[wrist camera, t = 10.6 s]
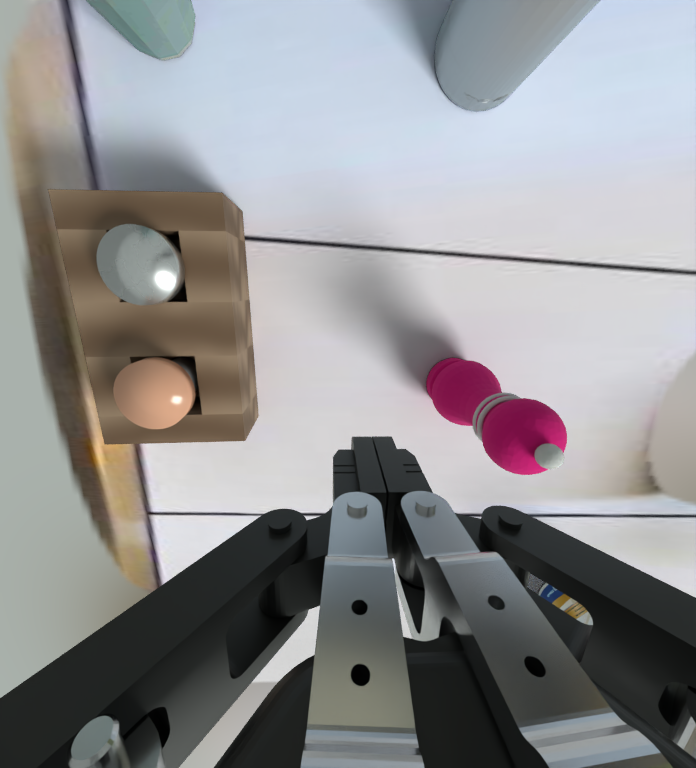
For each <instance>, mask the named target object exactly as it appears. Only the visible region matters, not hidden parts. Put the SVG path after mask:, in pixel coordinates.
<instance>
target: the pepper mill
mask: <svg viewBox="0 0 696 768" xmlns="http://www.w3.org/2000/svg"><path fill="white" fill-rule="evenodd" d="M426 387H427V391H428V394H429V396H430V397H431V399H432V400H433V403H434V406H435V408H436V409H437V411H438V412H439V413H440V414H441V415H442V416H443V417H444V418H446V419H447V420H449V421H450V422H453V423H455V424H459V425H466V426H473V429H474V432H475V434H476V436H477V437H478V438H479V439H480V440H481V441H482V442H483V446H484V448H485V451H486V453H487V454H488V455H489V457H490V458H491V459H492V460H493V461H494V462H495V463H496V464H497V465H499V466H500V467H501V468H503V469H505V470H507V471H509V472H512V473H515V474H521V475H532V474H537V473H541V472H543V471H546V470H548V469H556V468H558V467H560V466H561V465H562V464H563V462H564V454H563V452H564V450H565V447H566V443H567V433H566V428H565V426H564V423H563V421H562V420H561V418H560V417H559V415H558V414H557V413H556V412H555V411H554V410H552V409H551V408H550V407H548V406H547V405H545V404H543V403H541V402H539V401H536V400H532V399H526V398H523V399H521V398H519V397H518V396H516V395H514V394H511V393H502V392H501V388H500V384H499V382H498V380H497V378H496V377H495V375H494V374H493V373H492V372H491V371H490V370H489V369H488V368H486V367H485V366H483V365H482V364H480V363H477V362H474V361H464V360H462V359H459V358H448V359H445V360H442V361H440V362H439V363H437V364H436V365H435V366H434V367H433V368H432V369H431V371H430V372H429V375H428V377H427V382H426Z"/></svg>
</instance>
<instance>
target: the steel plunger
mask: <svg viewBox="0 0 696 768" xmlns="http://www.w3.org/2000/svg"><path fill="white" fill-rule="evenodd" d="M97 267H98V270H99V273H100V276H101V278H102V280H103V281H104V283H105V284H106V286H107V287H108V288H109V289H110V290H111V291H112V292H113V293H114V294H115V295H116V296H118V297H119V298H121V299H122V300H124V301H126V302H129V303H132V304H136V305H155V304H162V303H165V302H167V301H169V300H171V299H172V298H174V297H175V296H176V295H177V294H178V292H184V291H186V285H185V266H184V261H183V258H182V254H181V250H180V249H178V248H177V247H176V246H175V244H174V243H173V242H172V241H171V240H170V239H169V238H168V237H166V236H165V235H163V234H162V233H160V232H158V231H156V230H153V229H150V228H147V227H144V226H141V225H137V224H123V225H119V226H116V227H114V228H112V229H111V230H109V231H108V232H107V233H106V234H105V235H104V236H103V238H102V239H101V241H100V243H99V245H98V249H97Z"/></svg>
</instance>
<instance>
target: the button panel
mask: <svg viewBox="0 0 696 768" xmlns="http://www.w3.org/2000/svg"><path fill="white" fill-rule="evenodd" d="M48 192H49V196H50V201H51V205H52V210H53V214H54V219H55V223H56V228H57V232H58V237H59V241H60V246H61V250H62V255H63V259H64V264H65V268H66V273H67V277H68V282H69V286H70V291H71V295H72V300H73V304H74V309H75V313H76V318H77V322H78V327H79V331H80V336H81V340H82V345H83V349H84V354H85V358H86V363H87V367H88V372H89V376H90V381H91V385H92V390H93V394H94V399H95V403H96V408H97V412H98V417H99V421H100V426H101V430H102V435H103V439H104V443H105V444H141V443H181V442H220V441H245V440H246V438H247V436H248V435H249V433H250V431H251V429H252V427H253V425H254V423H255V422H256V420H257V418H258V403H257V391H256V378H255V365H254V352H253V340H252V327H251V314H250V302H249V289H248V276H247V263H246V251H245V238H244V225H243V212H242V210H240V209H239V208H238V207H237V206H236V205H235V204H234V203H233V202H232V201H231V200H230V199H229V198H227V197H226V196H225V195H224V194H223V193H216V192H163V191H109V190H56V189H48ZM123 224H137V225H141V226H144V227H147V228H150V229H153V230H156V231H158V232H160V233H162V234H163V235H165V236H166V237H168V238H169V239H170V240H171V241H172V242H173V243H174V244H175V246H176V247H177V248H178V249H180V250H181V254H182V258H183V261H184V266H185V285H186V291H184V292H178V294H177V295H176V296H175V297H174V298H172V299H171V300H169V301H167V302H165V303H162V304H155V305H136V304H132V303H129V302H126V301H124V300H122V299H121V298H119V297H118V296H116V295H115V294H114V293H113V292H112V291H111V290H110V289H109V288H108V287H107V286H106V284H105V283H104V281H103V280H102V278H101V276H100V273H99V270H98V267H97V249H98V245H99V243H100V241H101V239H102V238H103V236H104V235H105V234H106V233H107V232H108V231H109V230H111V229H112V228H114V227H116V226H119V225H123ZM178 356H186V357H190V358H192V359H194V360H195V363H196V371H197V378H198V386H199V391H198V392H197V393H196V394H195V401H194V404H193V407H192V408H191V410H190V411H189V413H188V414H186V415H185V416H184V417H183V418H182V419H181V420H180V421H179V422H177V423H176V424H175V425H173V426H171V427H168V428H164V429H148V428H144V427H141V426H138V425H136V424H135V423H133V422H131V421H130V420H129V419H127V418H126V417H125V416H124V415H123V414H122V412H121V411H120V410H119V408H118V406H117V404H116V402H115V399H114V393H113V387H114V382H115V379H116V377H117V375H118V374H119V373H120V371H121V370H122V369H123V368H125V367H126V366H128V365H130V364H132V363H134V362H137V361H140V360H142V359H145V358H150V357H160V358H165V359H168V360H170V359H172V358H175V357H178Z"/></svg>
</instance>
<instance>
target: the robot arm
mask: <svg viewBox="0 0 696 768" xmlns="http://www.w3.org/2000/svg"><path fill="white" fill-rule="evenodd" d="M599 1H600V0H452V3H451V5H450V7H449V10H448V12H447V14H446V17H445V19H444V21H443V24H442V26H441V28H440V31H439V33H438V37H437V41H436V45H435V57H434V59H435V69H436V74H437V77H438V81H439V83H440V85H441V87H442V89H443V91H444V93H445V94H446V95H447V96H448V98H449V99H450V100H451V101H452V102H454V103H455V104H456V105H457V106H459V107H461V108H463V109H466V110H470V111H486V110H489V109H491V108H494V107H496V106H498V105H499V104H501V103H502V102H504V101H505V100H506V99H507V98H508V97H509V96H510V95H511V94H512V93H513V92H514V91H515V90H516V89H517V88H518V87H519V86H520V84H521V83H522V82H523V81H524V80H525V79H526V78H527V77H528V76H529V75H530V74H531V73H532V72H533V71H534V70H535V69H536V68H537V67H538V66H539V65H540V64H541V63H542V62H543V60H544V59H545V58H546V57H547V56H548V55H549V54H550V53H551V52H552V51H553V50H554V49H555V48H556V47H557V46H558V45H559V44H560V43H561V41H562V40H563V39H564V38H565V37H566V36H567V35H568V34H569V33H570V32H571V31H572V30H573V29H574V28H575V27H576V26H577V25H578V24H579V23H580V21H581V20H582V19H583V18H584V17H585V16H586V15H587V14H588V13H589V12H590V11H591V10H592V9H593V8H594V7H595V6H596V5H597V4H598V2H599ZM392 558H394V560H395V564H396V569H395V574H394V567H393V561H392ZM530 573H531V574H533V575H534V576H536V577H537V578H539V579H541V580H542V581H544V582H546V583H547V584H549V585H551V586H552V587H554V588H555V589H557V590H559V591H560V592H562V593H564V594H565V595H567V596H569V597H570V598H572V599H573V600H575V601H577V602H578V603H580V604H581V605H582V606H583V607H584V608H585V609H586V610H587V611H588V612H589V614H590V615H591V618H592V621H593V625H588V624H584V623H582V622H580V621H578V620H577V619H575V618H574V617H572V616H571V615H569V614H568V613H566V612H564V611H563V610H561V609H560V608H558V607H557V606H555V605H554V604H552V603H550V602H549V601H547V600H546V599H544V598H543V597H541V596H540V595H538V594H537V593H535V592H533V591H532V590H530V589H529V588H527V585H528V581H529V576H530ZM396 587H397V589H396ZM397 590H398V594H399V597H400V600H401V603H402V607H403V610H404V613H405V616H406V620H407V623H408V626H409V629H410V633H411V636H412V639H410V638H406V637H403V633H402V625H401V618H400V611H399V603H398V596H397ZM317 606H320V611H319V620H318V630H317V639H316V648H315V655H314V656H312V657H310V658H308V659H306V660H304V661H303V662H301V663H300V664H298V665H297V666H296V667H294V668H293V669H292V670H291V671H290V672H288V673H287V674H286V675H285V676H284V677H283V678H282V679H281V680H280V681H279V682H278V683H277V684H276V685H275V686H274V688H273V689H272V690H271V692H270V693H269V694H268V695H267V697H266V698H265V699H264V701H263V702H262V703H261V705H260V706H259V707H258V709H257V710H256V711H255V713H254V714H253V716H252V717H251V718H250V719H249V721H248V722H247V724H246V725H245V726H244V728H243V729H242V730H241V732H240V733H239V735H238V736H237V737H236V738H235V740H234V741H233V743H232V744H231V745H230V747H229V748H228V749H227V751H226V752H225V753H224V755H223V756H222V757H221V759H220V760H219V761H218V763H217V764H216V766H215V767H214V768H696V598H695V597H693V596H691V595H689V594H687V593H685V592H683V591H681V590H679V589H677V588H675V587H673V586H670V585H668V584H666V583H664V582H662V581H660V580H658V579H656V578H654V577H652V576H650V575H648V574H646V573H644V572H642V571H640V570H638V569H636V568H634V567H632V566H630V565H628V564H626V563H624V562H622V561H620V560H618V559H616V558H614V557H612V556H610V555H608V554H606V553H604V552H602V551H600V550H598V549H596V548H594V547H592V546H590V545H588V544H586V543H584V542H581V541H579V540H577V539H575V538H573V537H571V536H569V535H567V534H565V533H563V532H561V531H559V530H557V529H555V528H553V527H551V526H549V525H547V524H545V523H543V522H541V521H539V520H537V519H535V518H533V517H531V516H529V515H527V514H525V513H523V512H521V511H519V510H516V509H513V508H510V507H506V506H491V507H488V508H486V509H485V510H484V511H483V513H482V518H481V519H479V518H474V517H469V516H464V515H460V514H457V513H454V511H453V510H452V508H451V507H450V505H449V504H448V503H447V501H446V500H445V499H443V498H442V497H440V496H438V495H436V494H434V493H433V492H432V490H431V488H430V486H429V484H428V482H427V480H426V478H425V476H424V474H423V473H422V470H421V468H420V466H419V464H418V462H417V460H416V458H415V456H414V455H413V454H411V453H410V452H409V451H407V450H406V449H397V448H396V446H395V444H394V441H393V439H392V437H372V438H371V437H352V444H351V450H338V451H337V453H336V454H335V455H334V457H333V506H332V508H331V509H330V510H329V511H328V512H327V513H325V514H324V515H322V516H320V517H317V518H314V519H310V520H307V521H306V518H305V517H304V516H303V515H302V514H301V513H299V512H297V511H295V510H291V509H277V510H273V511H270V512H267V513H265V514H264V515H262V516H261V517H259V518H258V519H256V520H255V521H253V522H252V523H251V524H249V525H248V526H246V527H245V528H243V529H242V530H240V531H239V532H238V533H236V534H235V535H233V536H232V537H230V538H229V539H228V540H226V541H225V542H223V543H222V544H220V545H219V546H218V547H216V548H215V549H213V550H212V551H210V552H209V553H208V554H206V555H205V556H203V557H202V558H200V559H199V560H198V561H196V562H195V563H193V564H192V565H190V566H189V567H188V568H186V569H185V570H183V571H182V572H180V573H179V574H177V575H176V576H175V577H173V578H172V579H170V580H169V581H167V582H166V583H165V584H163V585H162V586H160V587H159V588H157V589H156V590H155V591H153V592H152V593H150V594H149V595H147V596H146V597H145V598H143V599H142V600H140V601H139V602H137V603H136V604H135V605H133V606H132V607H130V608H129V609H127V610H126V611H125V612H123V613H122V614H120V615H119V616H117V617H116V618H115V619H113V620H112V621H110V622H109V623H107V624H106V625H104V626H103V627H102V628H100V629H99V630H97V631H96V632H94V633H93V634H92V635H90V636H89V637H87V638H86V639H85V640H83V641H82V642H80V643H79V644H77V645H76V646H74V647H73V648H72V649H70V650H69V651H67V652H66V653H64V654H63V655H62V656H60V657H59V658H57V659H56V660H54V661H53V662H52V663H50V664H49V665H47V666H46V667H45V668H43V669H42V670H40V671H39V672H37V673H36V674H34V675H33V676H31V677H30V678H29V679H27V680H26V681H24V682H23V683H21V684H20V685H19V686H17V687H16V688H14V689H13V690H11V691H10V692H9V693H7V694H6V695H4V696H3V697H2V698H0V768H179V767H180V765H181V764H182V763H183V762H184V761H185V760H186V758H187V757H188V756H189V755H190V754H191V752H192V751H193V750H194V749H195V748H196V747H197V745H198V744H199V743H200V742H201V741H202V740H203V738H204V737H205V736H206V735H207V734H208V733H209V731H210V730H211V729H212V728H213V727H214V726H215V724H216V723H217V722H218V721H219V720H220V718H221V717H222V716H223V715H224V714H225V713H226V711H227V710H228V709H229V708H230V707H231V705H232V704H233V703H234V702H235V701H236V700H237V699H238V697H239V696H240V695H241V694H242V693H243V692H244V690H245V689H246V688H247V687H248V686H249V684H250V683H251V682H252V681H253V680H254V679H255V677H256V676H257V675H258V674H259V673H260V672H261V670H262V669H263V668H264V667H265V666H266V665H267V663H268V662H269V661H270V660H271V659H272V658H273V656H274V655H275V654H276V653H277V652H278V650H279V649H280V648H281V647H282V646H283V645H284V643H285V642H286V641H287V640H288V639H289V638H290V636H291V635H292V634H293V633H294V632H295V631H296V629H297V628H298V627H299V626H300V625H301V624H302V622H303V621H304V620H305V618H306V616H307V613H308V610H309V609H312V608H314V607H317Z"/></svg>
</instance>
